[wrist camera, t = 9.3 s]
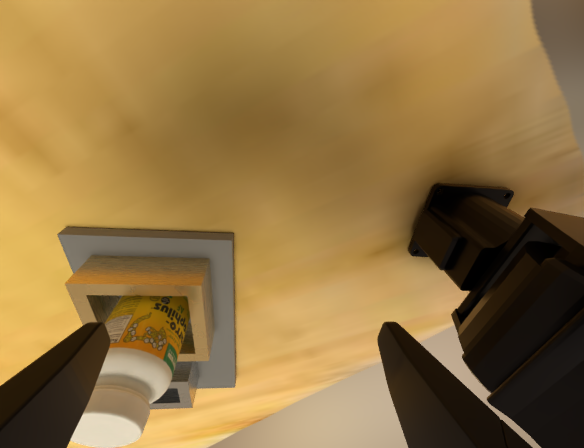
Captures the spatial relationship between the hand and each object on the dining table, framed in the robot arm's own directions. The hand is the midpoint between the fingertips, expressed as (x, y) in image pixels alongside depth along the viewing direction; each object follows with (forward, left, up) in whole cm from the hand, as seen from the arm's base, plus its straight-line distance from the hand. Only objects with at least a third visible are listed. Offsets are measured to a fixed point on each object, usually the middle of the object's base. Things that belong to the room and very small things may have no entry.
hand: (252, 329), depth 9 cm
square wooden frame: (+8, +10, -12) cm, 17 cm away
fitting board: (+8, +14, -12) cm, 20 cm away
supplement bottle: (+8, +10, -11) cm, 17 cm away
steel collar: (+8, +19, -12) cm, 24 cm away
